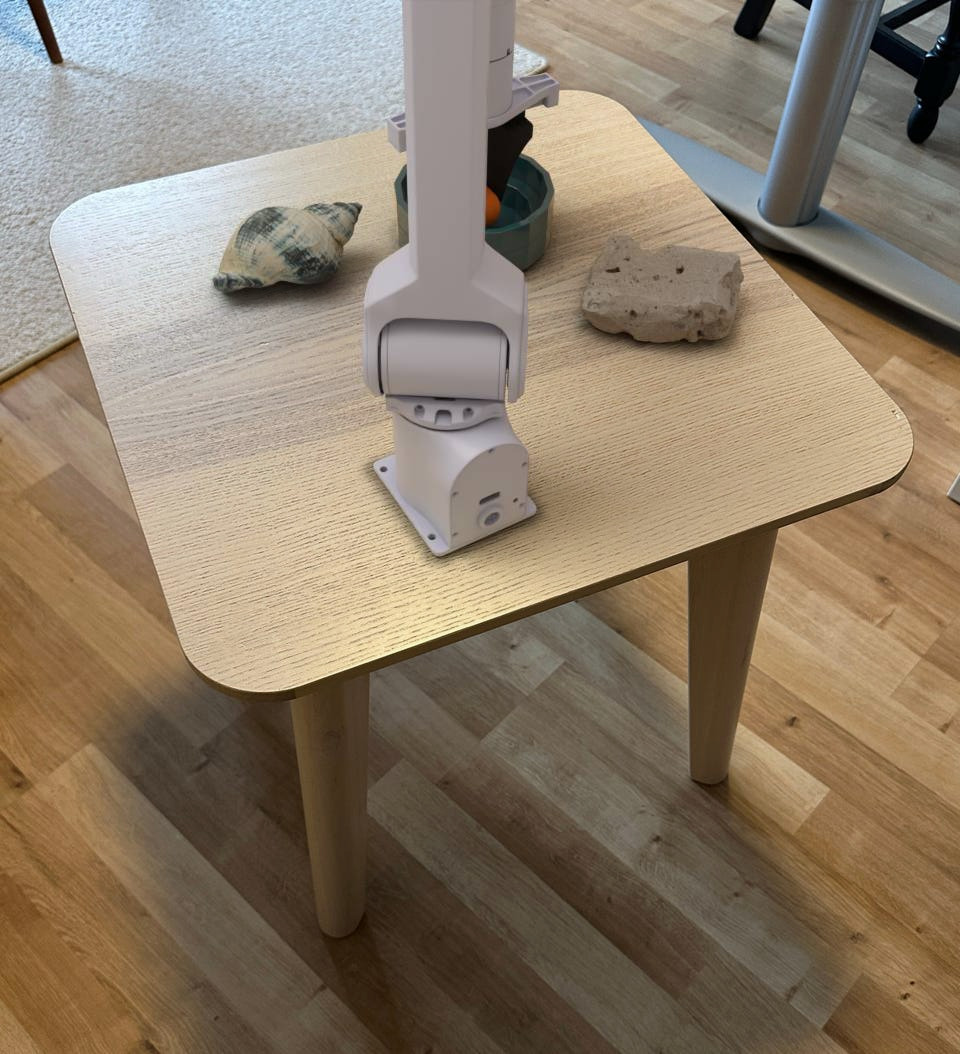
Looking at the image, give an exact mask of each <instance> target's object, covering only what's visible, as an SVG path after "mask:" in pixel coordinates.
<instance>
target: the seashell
mask: <svg viewBox="0 0 960 1054" xmlns="http://www.w3.org/2000/svg"><path fill="white" fill-rule="evenodd" d="M362 209H363V205H362V204H361V203H360V202H357V201H356V202H348V203H346V202H342V201H335V202H333V203H321V202H318V203H314V204H313V203H312V204H309V205H307V206H305V207H303V208H302V209H300V208H296V207H290V206H280V205H275V206H273V205H272V206H267V207H264V208H260V209H257V210H255V211H253V212H251V213H249V214H248V215H247V216H245V218H244V219H243V220H242V221H241V222H240V223H239V224H238V225H237V227H236V228H235V230H234V232H233V234H232V235H231V237H230V239H229V240H228V243H227V246H226V247H225V248H224V249H225V250H224V253H223V255H222V258H221V261H220V263H219V267H218V273H217V274H216V275H215V276H213V277H212V279H211V281H212V283H213V287H214V288H215V289H216V290H218V291H219V292H221V293H228V294H229V293H232V292H234V291H238V290H242V289H244V288H264V287H268V286H269V287H270V286H272V285H274V284H276V283H279V282H289V283H293V284H297V285H298V284H299V285H318V284H321V283H323V282H326V281H328V280H330V279H331V278H333V276H334V275H335V274H336V273H337V272H338V271H339V269H340V266H341V264H342V260H343V255H344V246H345V245H346V244H347V243H349V242H350V240H351V239H352V236H353V235H354V232H355V225H356V224H357V223H358V221H359V216H360V214H361V212H362Z"/></svg>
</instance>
